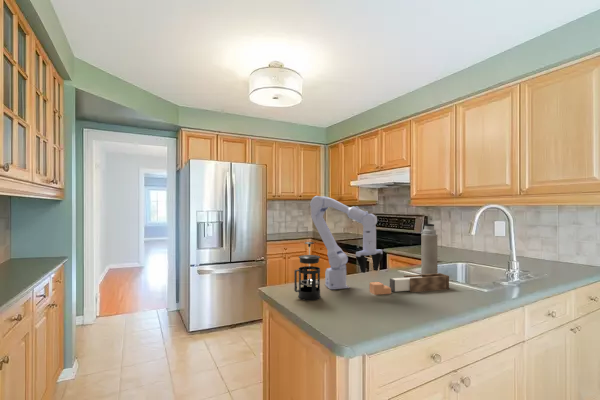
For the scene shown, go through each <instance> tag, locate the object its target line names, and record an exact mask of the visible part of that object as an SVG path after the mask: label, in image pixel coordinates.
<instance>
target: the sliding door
mask: <svg viewBox="0 0 600 400" xmlns="http://www.w3.org/2000/svg"><path fill="white" fill-rule="evenodd" d="M410 278H418V277H407V278H404V277H394V278H389V287H390V288H391V292H393V293H395V292H407V291H408V292H410Z"/></svg>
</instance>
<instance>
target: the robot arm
mask: <svg viewBox="0 0 600 400" xmlns="http://www.w3.org/2000/svg"><path fill="white" fill-rule="evenodd" d="M309 207H310V218H311V220H312V223H313V224H314V226H315V228H316V231H317V232H318V234H319V236H320V238H321V240H322V242H323V244H324V246H325V248H326V250H327V257H328V263H329V266H330V267H327V268H325V273H324V274H325V276H324V277H325V278H324V279H325V281H324V283H325V284H324V286H326V288H328V289H329V290H340V289H350V286H349V285H347V265H346V264H347V263H348V261H349V257H348V255H347V254H346V252H344V251H343V249H342V248H341V247H340V246H339V245H338V243H337V241H336V240H335V238H334V235H333V234H332V231H331V229H330V227H329V226H328V224H327V222H326V220H325V219H324V215H325V212H326V211H327V210H328V209H329V208H332V209H335V210H337V211H340V212H342V213H344V214H346V215H347V217H348V218H349V219H351V220H353V221H355V222H356V223H359V224H361V225H362V226H363V228H362V229H363V230H362V250H359V251H356V252H355V259H356V260H357V262H358V265H359V268H360V272H361V273H363V274H365V273H366V272H367V270H366V269H367V262H368V259H369V258H368V257H366V256H370V257H371V260H372V270H373V271H376V272H377V271H378V272H379V266H380V263H381V261H382V259H383V258H384V255H383V251H384V250H383V249H377V226H376V225H377V223H378V217H377V216H376V215H375V214H374V213H369V211H368V210H363V209H360V206H357V205H356V206H354V205H353V206H351V207H350V206H348V205H346V204H344V203H342V202H340V201H338V200H336V199H334V198H331V197H328V196H326V195H323V196H320V195H315V196H313V197H312V199H311V201H310V202H309Z"/></svg>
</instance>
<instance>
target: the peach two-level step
mask: <svg viewBox="0 0 600 400" xmlns="http://www.w3.org/2000/svg"><path fill="white" fill-rule="evenodd" d="M369 293H371V294H372V295H373V296H375V295H376V296H377V295H386V294H387V295H388V294H390V295H391V294H392V291H391V288H390V286H388V285H384V283H381V282H379V281H374V282H369Z"/></svg>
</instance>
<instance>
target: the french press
mask: <svg viewBox="0 0 600 400" xmlns="http://www.w3.org/2000/svg"><path fill="white" fill-rule="evenodd" d="M304 244H307V245H308V254H303V255H302V254H301V255H299V256H298V258H299V263H300V264H305V265H306V264H307V265H308V266H307V265H306V266H304V265H303V266H300V267H298V269H294V270H293V271H294V279H293V280H294V282H293V283H294V284H293V285H294V287H293V289H294V292H295V293H298V295H297V297H298V300H299V299H300V300H301V301H309V302H312V301H318V300H320V299H321V285H320V284H321V283H320V282H321V274H320V273H321V268H320V267H318V266H311V264H312V265H313V264H318V263H319V262H320V259H321V256H319V255H316V254H311V253H310V252H311V245H313V244H315V242H314V241H306V242H304ZM297 272H298V276H297ZM302 274H303V276H302ZM316 274H317V275H316ZM297 277H298V278H297ZM302 277H303V279H301V278H302ZM297 279H298V280H297ZM297 282H298V283H297ZM297 285H298V287H297ZM297 288H298V289H297Z"/></svg>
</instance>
